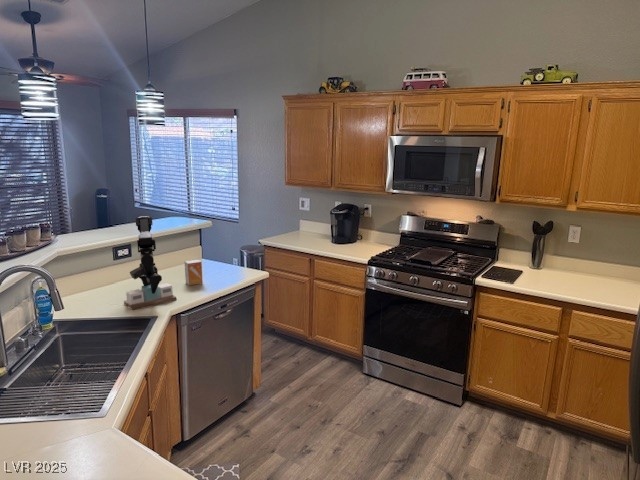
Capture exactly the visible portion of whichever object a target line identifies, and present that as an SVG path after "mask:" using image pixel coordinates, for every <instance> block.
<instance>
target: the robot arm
mask: <svg viewBox="0 0 640 480" xmlns="http://www.w3.org/2000/svg"><path fill="white" fill-rule="evenodd" d="M135 226H136V227H137V230H138V232H139V233H140V234H138V239H136V241H137V243H136V244H137V253H140V263H139V266H138V267H136V268H134V269H132V270H130V271H129V274H130V277H131V279H133V280H137V279H139V280H140V281H141V283H142V285H141V288H142V287H143V286H148V285H150V286H151V291H152V294H154V293H155V292H156V289H157V287H158V285H160V283H161V282H162V280H163V278H162V275H160V274H159V273H158V267H157V266H156V263H155V259H154V253H153V252H155V251H156V249H157V245H156V240H155V238H154V237H153V234H151V230H152V226H153V217H151V216H147V215H144V216H143V215H142V216H138V217H136V218H135Z"/></svg>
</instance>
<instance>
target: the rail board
mask: <svg viewBox="0 0 640 480" xmlns="http://www.w3.org/2000/svg"><path fill="white" fill-rule="evenodd" d="M177 299H178V298H177V296H175V295H174V296H170V297H166V298H161V299H157V300H153V301H148V302H144V303H140V304H136V305H131V306H130V305H129V304H127V303H126V301H127V299H126V300H124V301H123V305H125V306H126V307H128V308H129V309H131V310H132V311H135V310H139V309H140V310H141V309H143V308H149V307H153V306H156V305H162V304H165V303H168V302H173V301H176V300H177Z"/></svg>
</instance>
